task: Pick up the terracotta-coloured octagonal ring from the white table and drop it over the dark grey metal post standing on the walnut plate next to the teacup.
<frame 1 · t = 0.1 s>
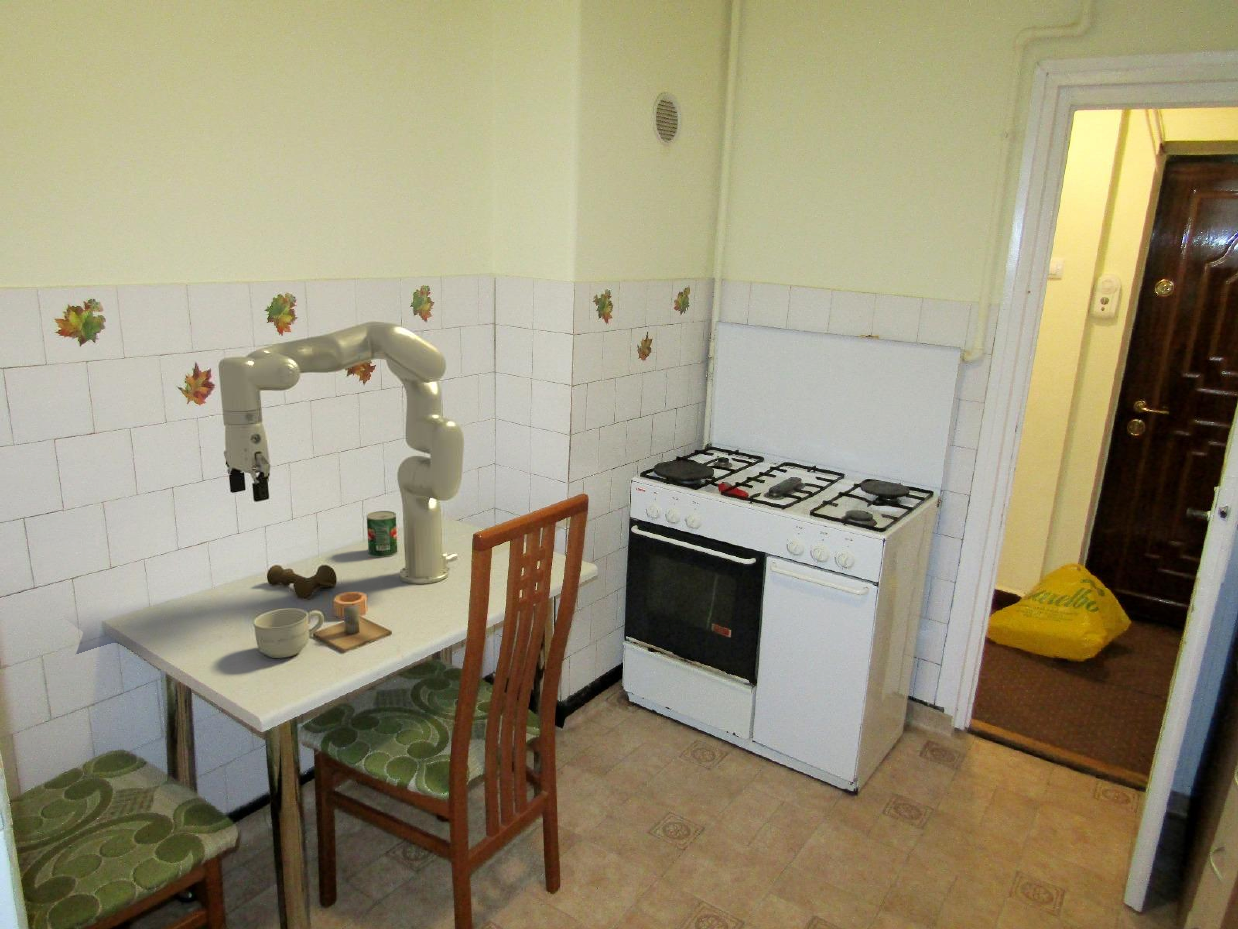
hand: (249, 495, 188), 31 cm above the table, tool pointing down, fingers open, 9 cm apart
teacup: (291, 651, 187), on the table
post plate: (352, 635, 195), on the table
canned tomato: (383, 553, 246), on the table
kendama: (304, 591, 219), on the table
ring: (351, 612, 207), on the table
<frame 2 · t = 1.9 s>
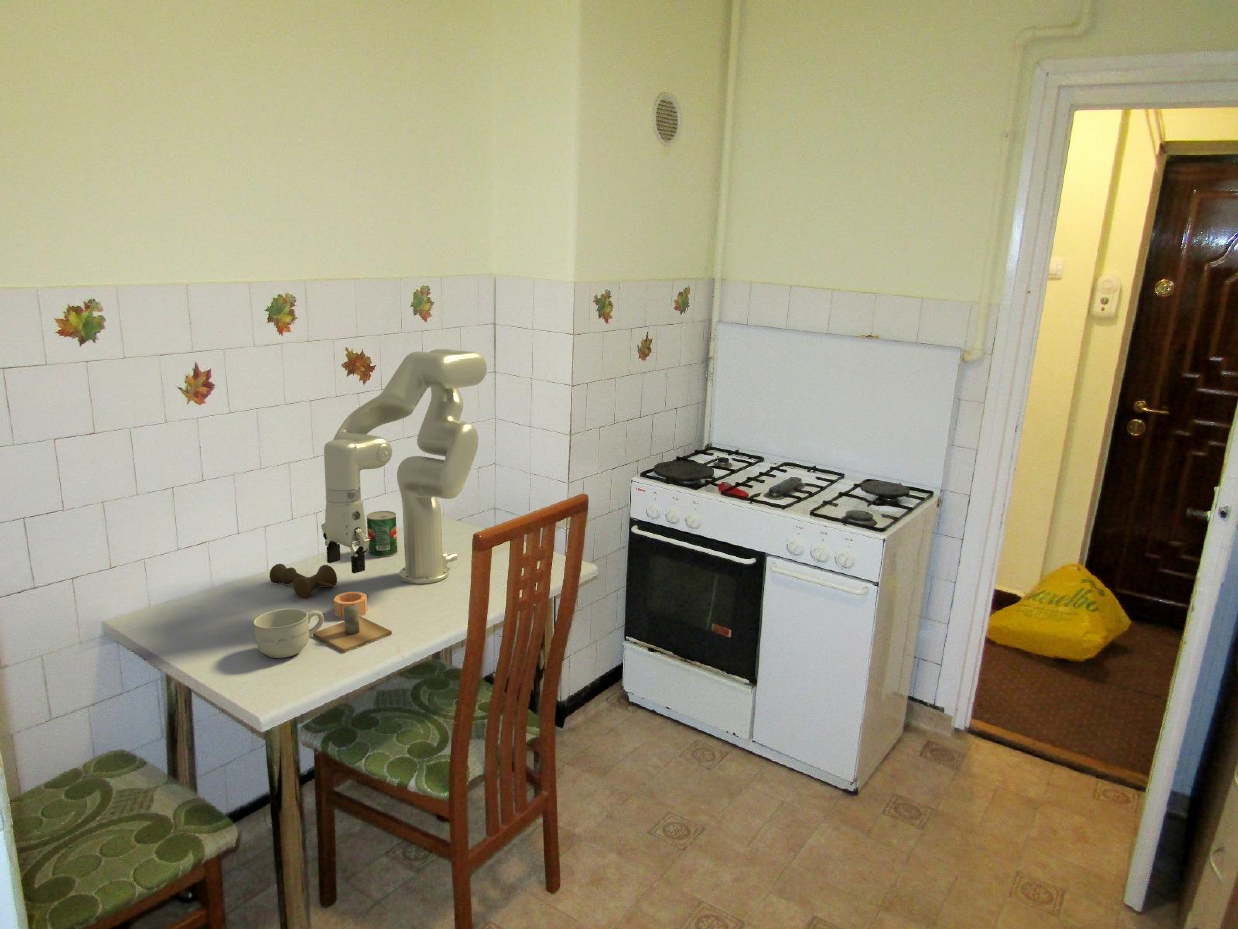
hand: (346, 566, 203), 11 cm above the table, tool pointing down, fingers open, 9 cm apart
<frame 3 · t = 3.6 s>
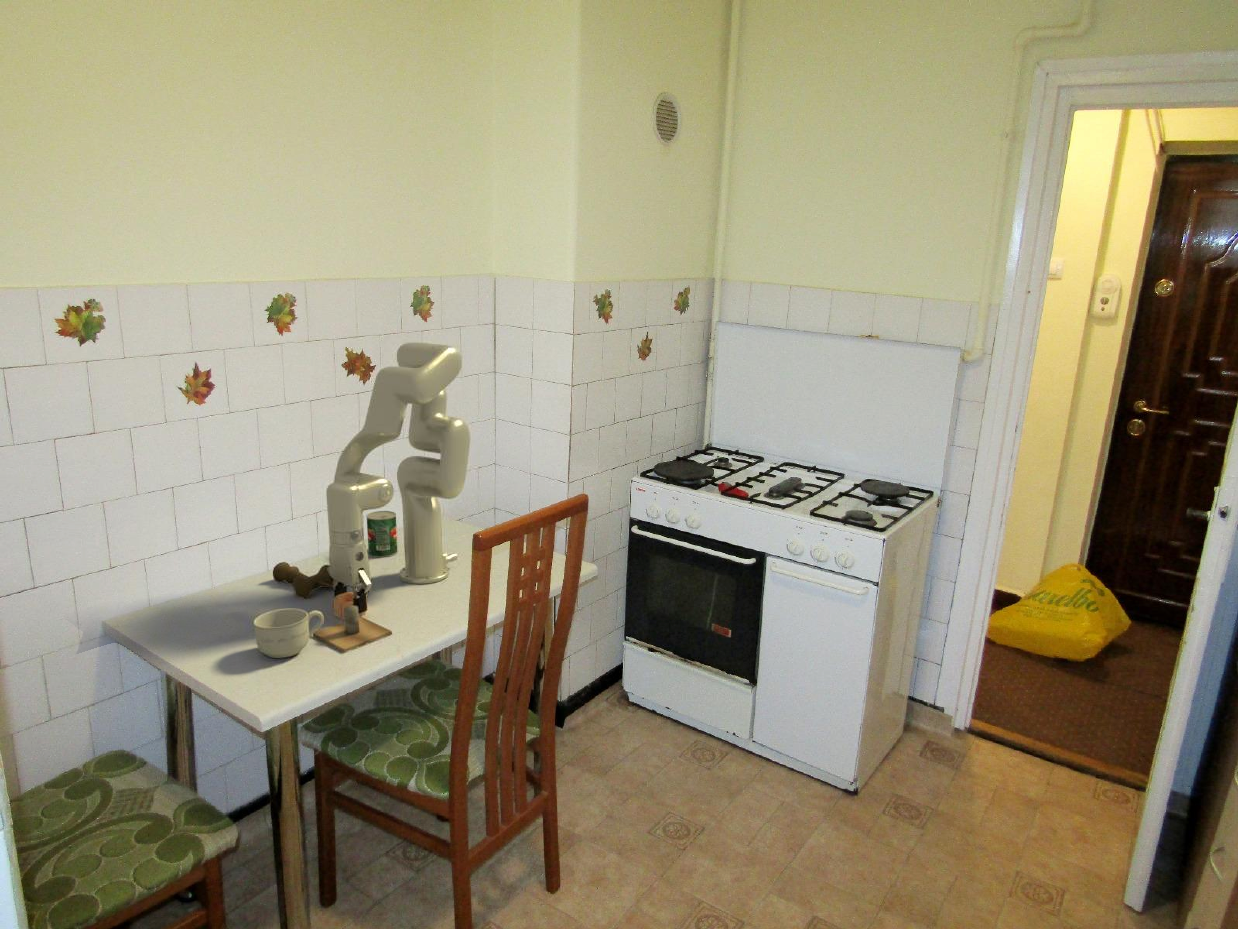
hand: (350, 607, 206), 1 cm above the table, tool pointing down, fingers closed on ring, 7 cm apart
ring: (351, 612, 207), on the table, touching gripper
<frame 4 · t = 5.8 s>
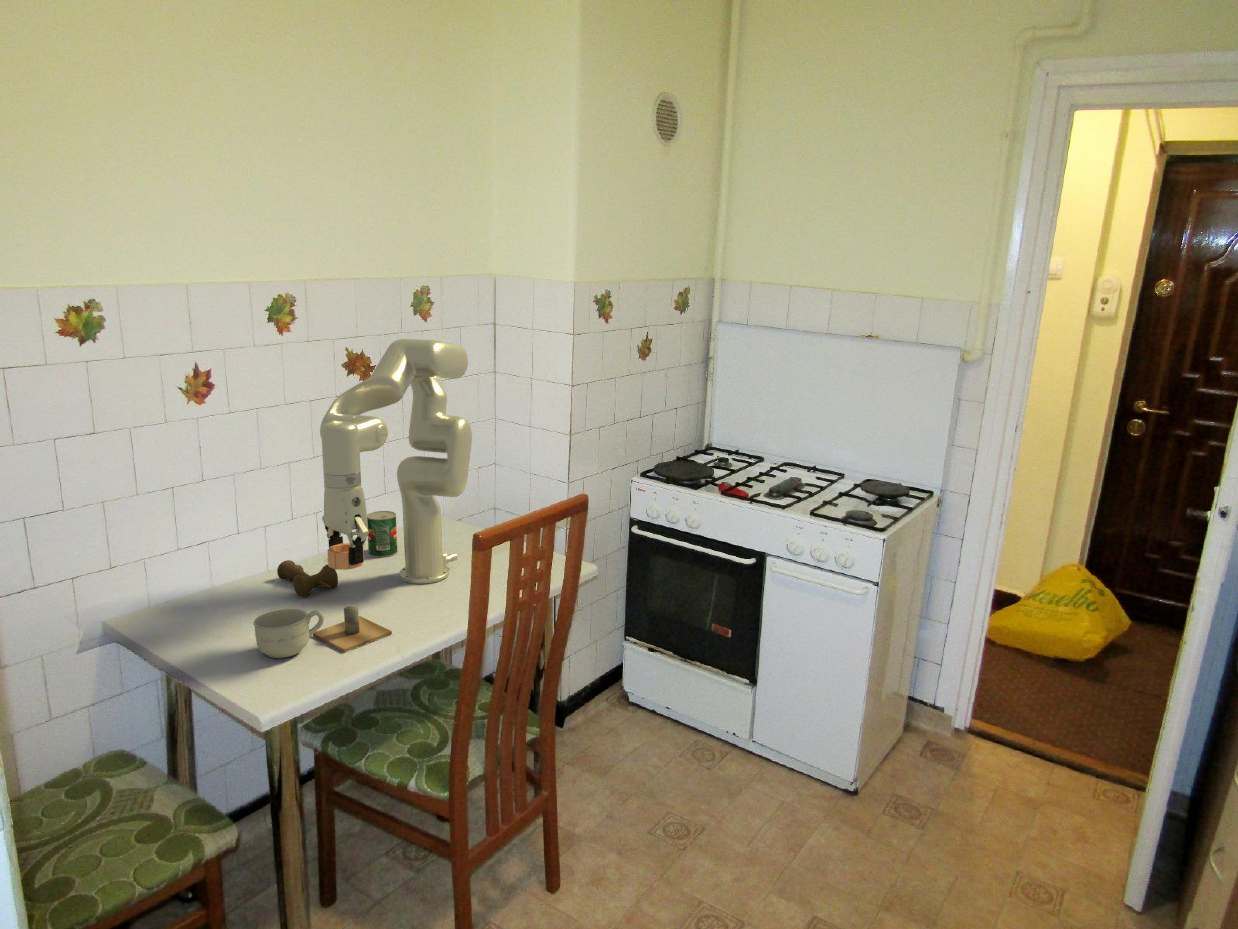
hand: (346, 558, 191), 17 cm above the table, tool pointing down, fingers closed on ring, 7 cm apart
ring: (346, 564, 192), point 16 cm above the table, touching gripper
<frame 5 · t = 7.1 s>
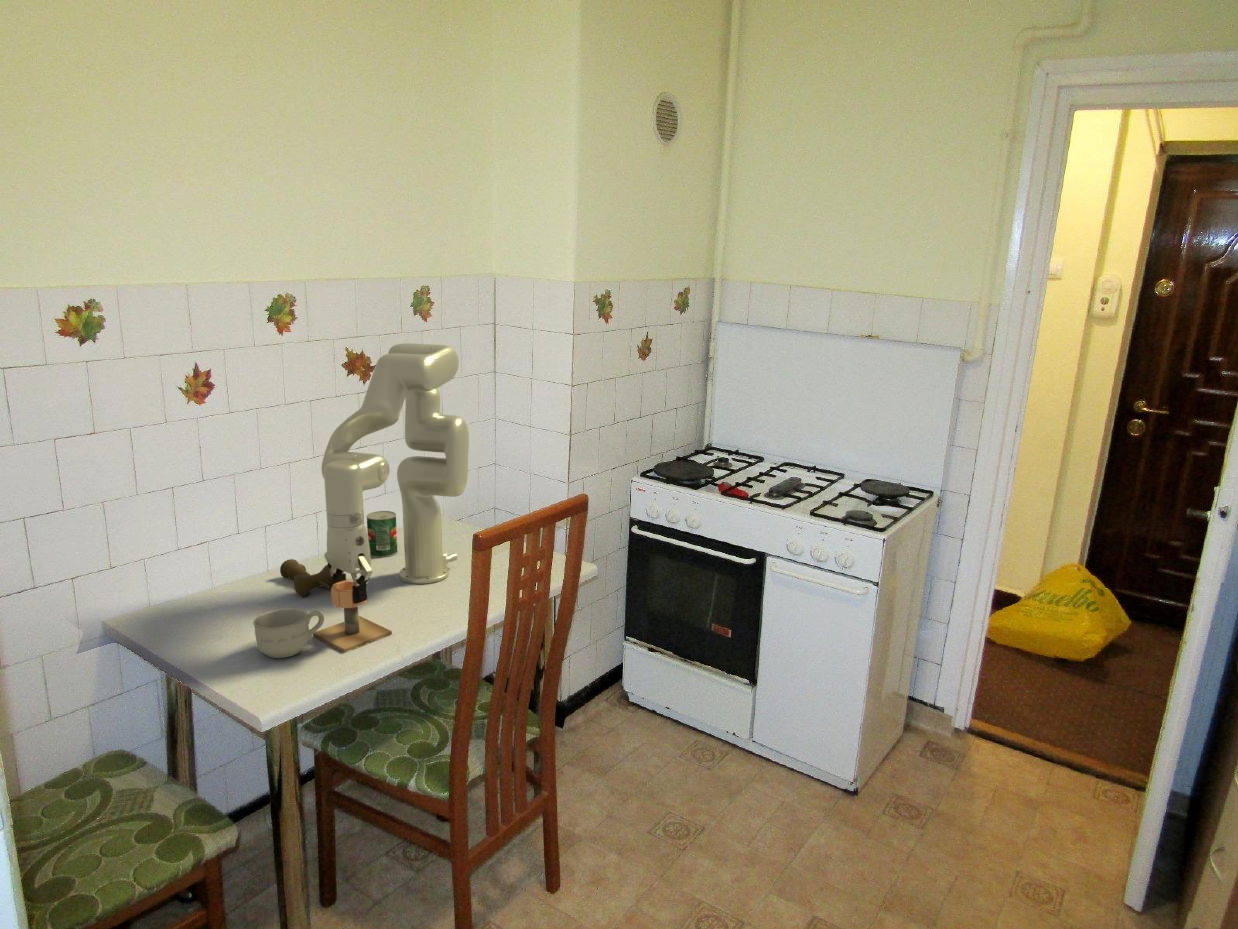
hand: (349, 596, 192), 9 cm above the table, tool pointing down, fingers closed on ring, 7 cm apart
ring: (349, 601, 192), point 8 cm above the table, touching gripper
when the fingers open (9 cm above the table, at t = 8.1 s): ring drops 7 cm, resting on post plate.
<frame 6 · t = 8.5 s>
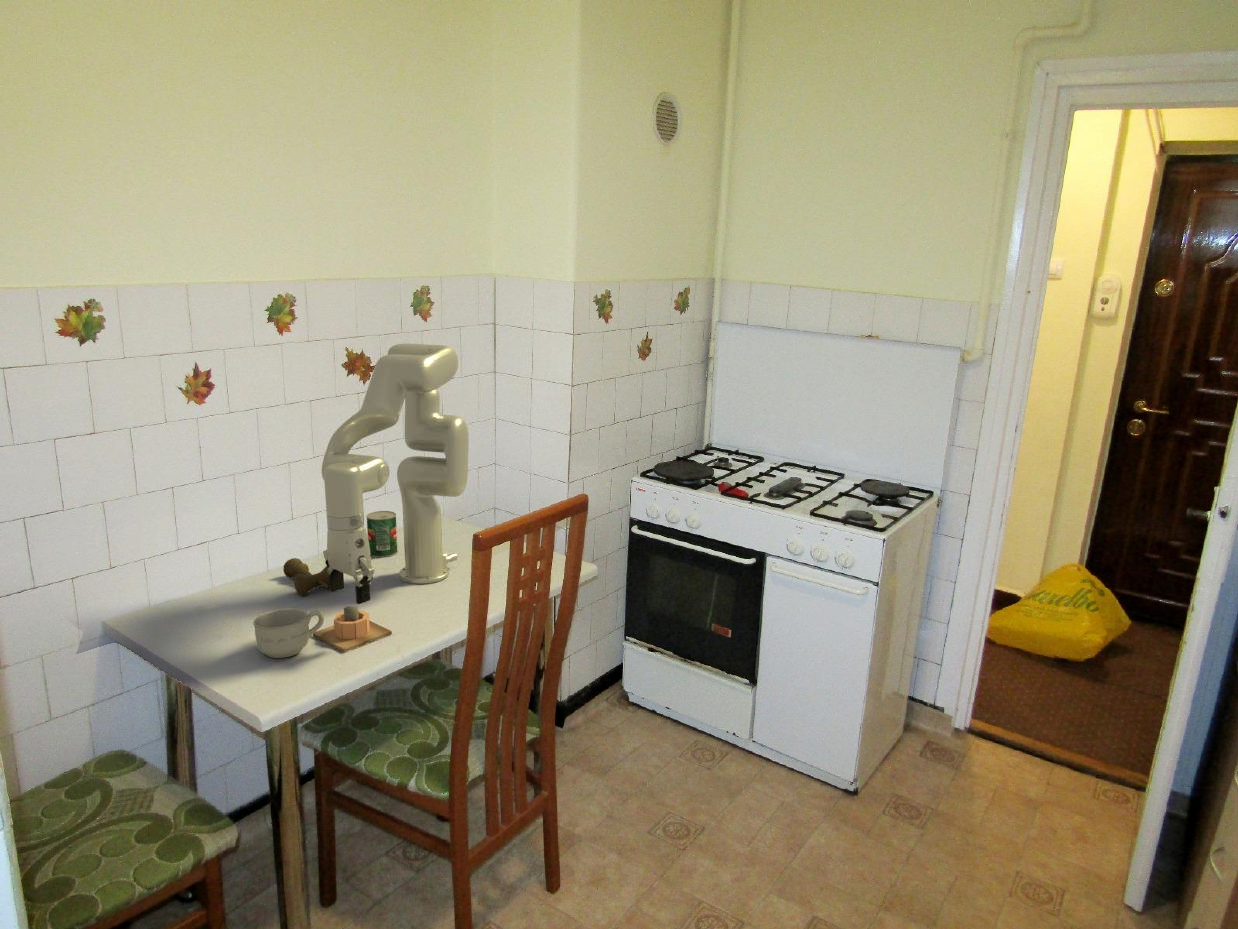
hand: (350, 596, 192), 9 cm above the table, tool pointing down, fingers open, 9 cm apart
ring: (352, 632, 194), point 1 cm above the table, touching post plate
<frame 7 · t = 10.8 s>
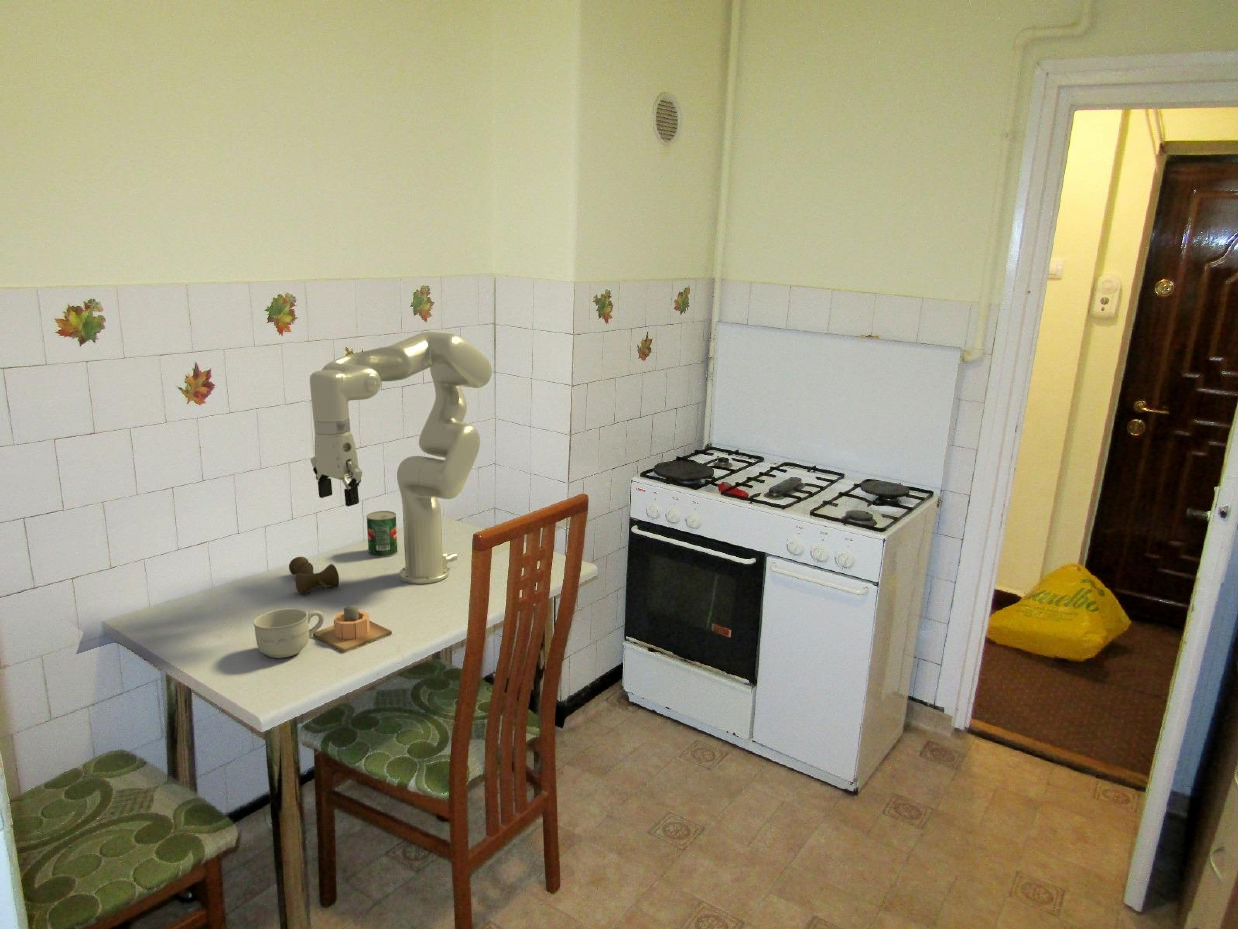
hand: (339, 500, 199), 27 cm above the table, tool pointing down, fingers open, 9 cm apart
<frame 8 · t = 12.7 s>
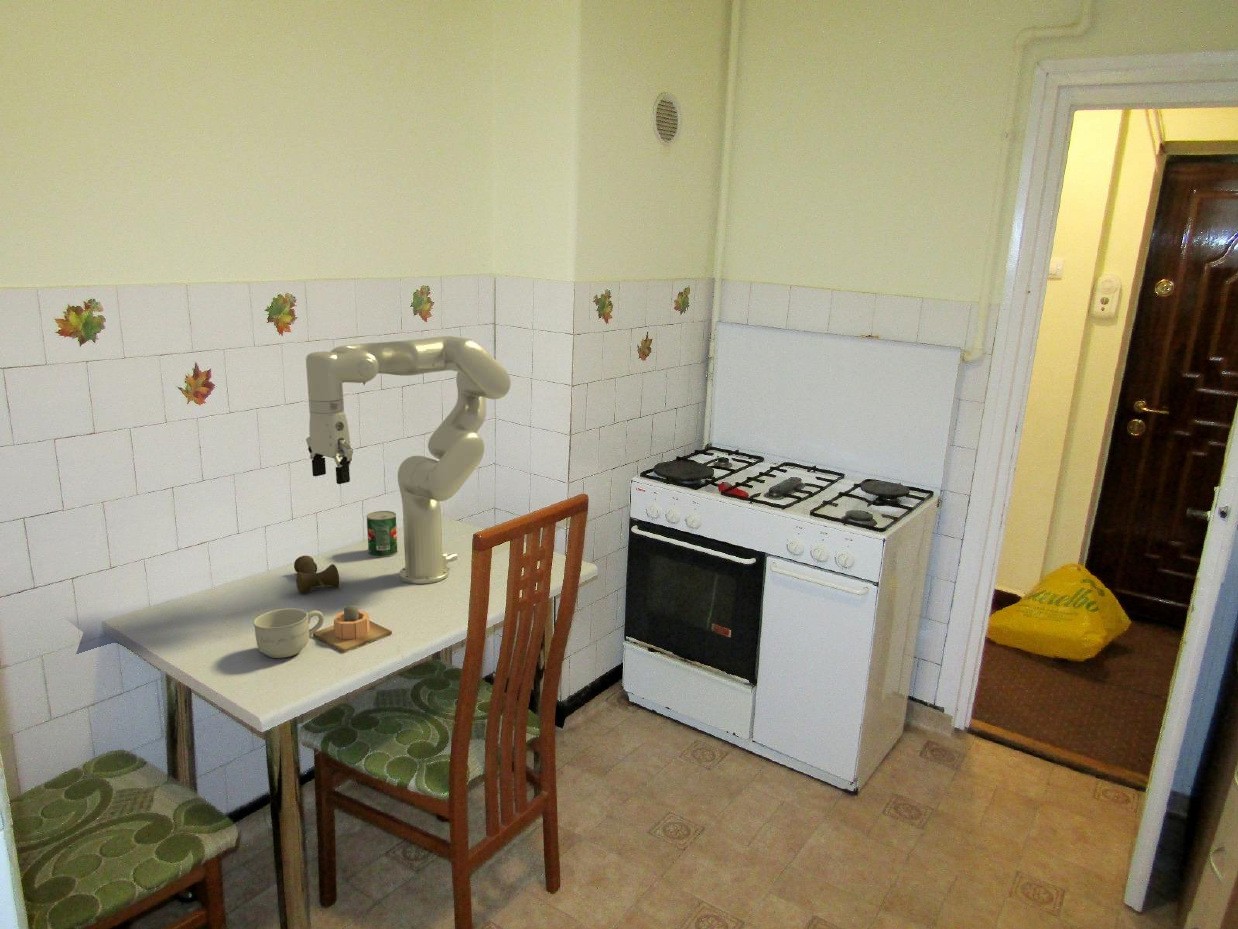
hand: (331, 479, 205), 30 cm above the table, tool pointing down, fingers open, 9 cm apart
at the end: ring 0.0 cm off-centre on the post plate, point 0.8 cm above the post plate's base; the gripper is holding nothing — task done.
